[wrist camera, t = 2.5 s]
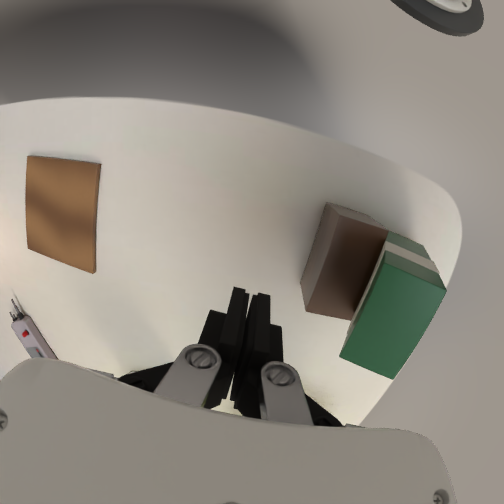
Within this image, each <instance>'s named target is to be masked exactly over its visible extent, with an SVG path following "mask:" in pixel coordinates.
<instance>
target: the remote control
mask: <svg viewBox="0 0 504 504" xmlns="http://www.w3.org/2000/svg"><path fill="white" fill-rule="evenodd" d="M11 301H12V303H13V305H14V307H15V309H16V311H17V313H18V317H19V318H18V319H17V317H15V315H14V314H13V316H14V317H13V316H12V314H11V312H9V313H10V315H11V317H12V318H13V321H14V322H13V323H12V324H11V327H12V329H13V330H14V332H15V334H16V335H17V337H18V338H19V340H20V341H21V343H22V345H23V346H24V348H25V349H26V351H27V352H28V353H29V355H30V356H31V358H50V359H56V360H58V359H57V358H56V356H55V355H54V354H53V352H52V351H51V349H50V348H49V346H48V345H47V343H46V342H45V340H44V339H43V337H42V336H41V334H40V333H39V331H38V329H37V328H36V326H35V325H34V323H33V321H32V320H31V318H30V317H29V316H24V315H23V314H22V313H21V312H20V311H19V309H18V307H17V306H16V305H15V303H14V301H13V299H11Z"/></svg>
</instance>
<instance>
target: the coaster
mask: <svg viewBox="0 0 504 504" xmlns="http://www.w3.org/2000/svg"><path fill="white" fill-rule="evenodd" d="M100 168H101V164H97V163H90V162H83V161H75V160H67V159H59V158H50V157H40V156H27V169H26V198H25V202H26V232H27V245H28V249H30V250H33V251H35V252H37V253H40V254H42V255H45V256H47V257H50V258H52V259H55V260H57V261H60V262H62V263H65V264H68V265H70V266H73V267H76V268H78V269H81V270H84V271H86V272H89V273H92V274H94V273H95V272H96V261H95V240H96V212H97V198H98V186H99V176H100Z"/></svg>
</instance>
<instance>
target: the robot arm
mask: <svg viewBox="0 0 504 504" xmlns="http://www.w3.org/2000/svg"><path fill="white" fill-rule="evenodd" d="M426 1H428V2H430V3H431V4H433V5H435V6H437V7H439V8H441V9H443V10H446V11H448V12H452V13H462V12H465V11H467V10H469V8H470V7H471V3H472V0H426ZM245 290H246V289H242V288H237V287H234V288H233V292H232V296H231V300H230V303H229V307H228V311H227V314H225V313H221V312H217V311H214V310H210V312H209V314H208V317H207V320H206V322H205V325H204V328H203V331H202V334H201V336H200V339H199V342H198V344H192V345H189V346H187V347H185V348H184V349H183V350H182V351H181V353H180V354H179V356H178V357H177V359H176V360H175V361H174V362H171V363H167V364H164V365H160V366H157V367H153V368H150V369H146V370H142V371H138V372H134V373H130V374H126V375H124V376H121V377H120V378H116V377H114V375H113V374H111V373H106V372H101V371H97V370H93V369H88V368H84V367H81V366H78V365H76V364H73V363H69V362H65V361H61V360H56V359H50V358H31V359H28V360H25V361H23V362H21V363H20V364H18V365H17V366H15V367H14V368H13V369H12V370H11V371H10V372H8V373H7V374H6V375H5V376H4V377H3V378H2V379H1V380H0V504H457V500H456V497H455V493H454V489H453V486H452V483H451V480H450V477H449V474H448V471H447V468H446V466H445V464H444V461H443V459H442V457H441V455H440V453H439V451H438V449H437V448H436V446H435V445H434V443H433V442H432V441H431V440H429V439H428V438H427V437H425V436H423V435H420V434H418V433H414V432H411V431H406V430H400V429H389V428H365V427H361V426H356V425H351V424H346V425H345V426H343V425H342V424H341V422H340V421H339V420H338V419H336V418H335V417H334V416H333V415H331V414H330V413H329V412H328V411H326V410H325V409H324V408H322V407H321V406H320V405H319V404H317V403H316V402H315V401H314V400H313V399H311V398H310V397H309V396H308V395H306V394H305V393H304V390H303V387H302V383H301V380H300V377H299V374H298V372H297V371H296V370H295V369H294V368H293V367H292V366H290V365H289V364H286V363H284V362H283V342H282V327H281V326H277V325H273V324H270V295H267V294H262V293H258V295H253V296H252V300H251V303H250V307H249V310H248V314H247V308H248V301H249V293H245ZM246 315H247V317H246ZM233 375H234V378H233ZM232 378H233V384H232V390H231V396H230V400H231V401H235V402H234V409H238V410H239V412H240V413H241V414H242V416H238V415H233V414H228V413H224V412H219V411H215V410H211V408H214V407H216V406H218V405H220V403H221V400H222V399H226V398H227V394H228V391H229V388H230V385H231V381H232Z"/></svg>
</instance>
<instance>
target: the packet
mask: <svg viewBox="0 0 504 504" xmlns="http://www.w3.org/2000/svg"><path fill="white" fill-rule="evenodd" d="M446 291H447V290H446V288H445V286H444V284H443V282H442V280H441V278H440V276H439V271H438V269H437V267H436V265H435V264H434V262H433V261H431V259H430V257H429V255H428V253H427V252H426V250H425V248H424V246H423V245H421V244H419V243H416V242H414V241H412V240H409V239H407V238H405V237H403V236H400V235H398V234H395V233H393V232H391V231H389V232H388V235H387V238H386V241H385V243H384V246H383V248H382V251H381V254H380V256H379V259H378V261H377V264H376V266H375V268H374V271H373V273H372V276H371V278H370V280H369V283H368V285H367V287H366V290H365V292H364V294H363V296H362V298H361V301H360V303H359V305H358V307H357V309H356V311H355V313H354V315H353V318H352V321H351V323H350V326H349V329H348V332H347V337H346V340H345V342H344V345H343V347H342V350H341V352H340V355H339V357H341V358H343V359H345V360H347V361H350V362H352V363H354V364H356V365H359V366H361V367H363V368H366V369H368V370H370V371H373V372H375V373H378V374H380V375H382V376H385V377H387V378H390V379H392V380H393V379H394V378H395V376H396V375H397V374H398V372H399V371H400V369H401V368H402V367H403V365H404V364H405V362H406V361H407V359H408V358H409V356H410V355H411V353H412V352H413V350H414V349H415V347H416V345H417V344H418V342H419V341H420V339H421V337H422V336H423V334H424V332H425V331H426V329H427V327H428V325H429V324H430V322H431V320H432V318H433V316H434V315H435V313H436V311H437V309H438V307H439V305H440V303H441V301H442V299H443V298H444V296H445V294H446Z"/></svg>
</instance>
